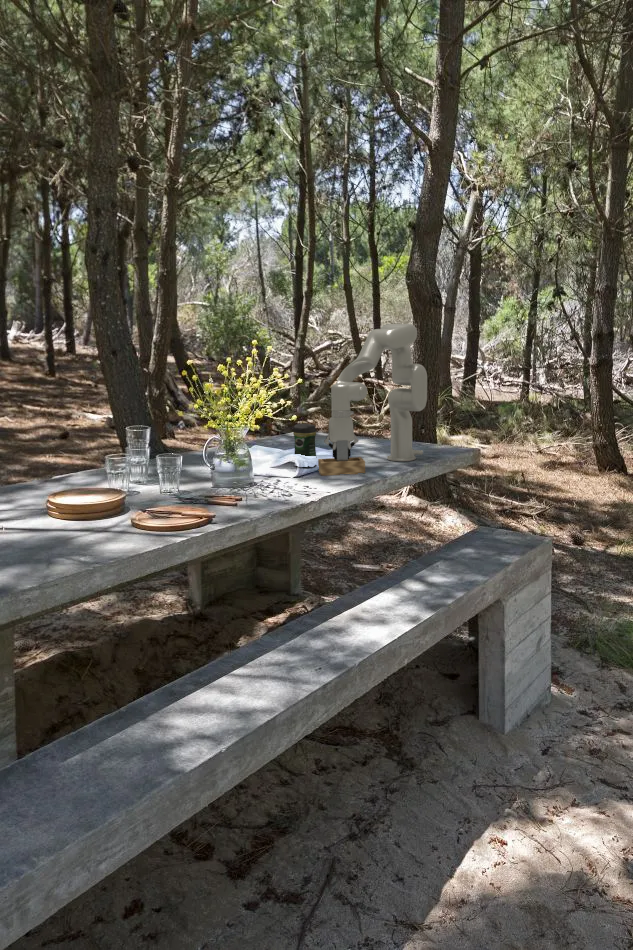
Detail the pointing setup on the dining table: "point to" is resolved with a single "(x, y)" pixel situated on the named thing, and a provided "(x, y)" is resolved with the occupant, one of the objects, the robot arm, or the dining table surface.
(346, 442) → the grey rectangular block
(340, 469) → the wooden box
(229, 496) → the dining table surface
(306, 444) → the coffee jar
